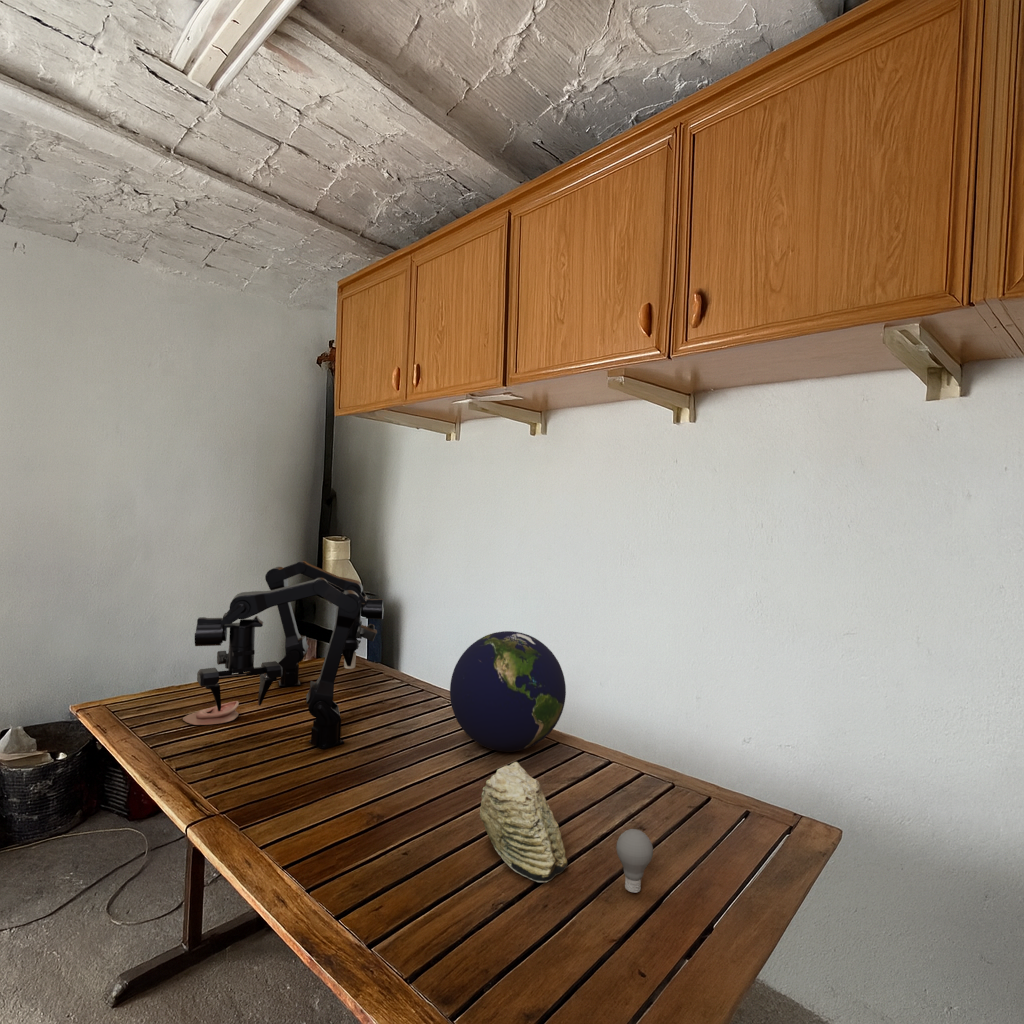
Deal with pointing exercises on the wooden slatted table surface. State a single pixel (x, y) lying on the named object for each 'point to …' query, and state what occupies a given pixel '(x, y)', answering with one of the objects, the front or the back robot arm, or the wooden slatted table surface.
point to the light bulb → (634, 857)
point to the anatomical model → (214, 715)
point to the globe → (507, 691)
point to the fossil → (522, 824)
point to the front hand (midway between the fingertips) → (239, 707)
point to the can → (351, 662)
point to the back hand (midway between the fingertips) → (349, 664)
